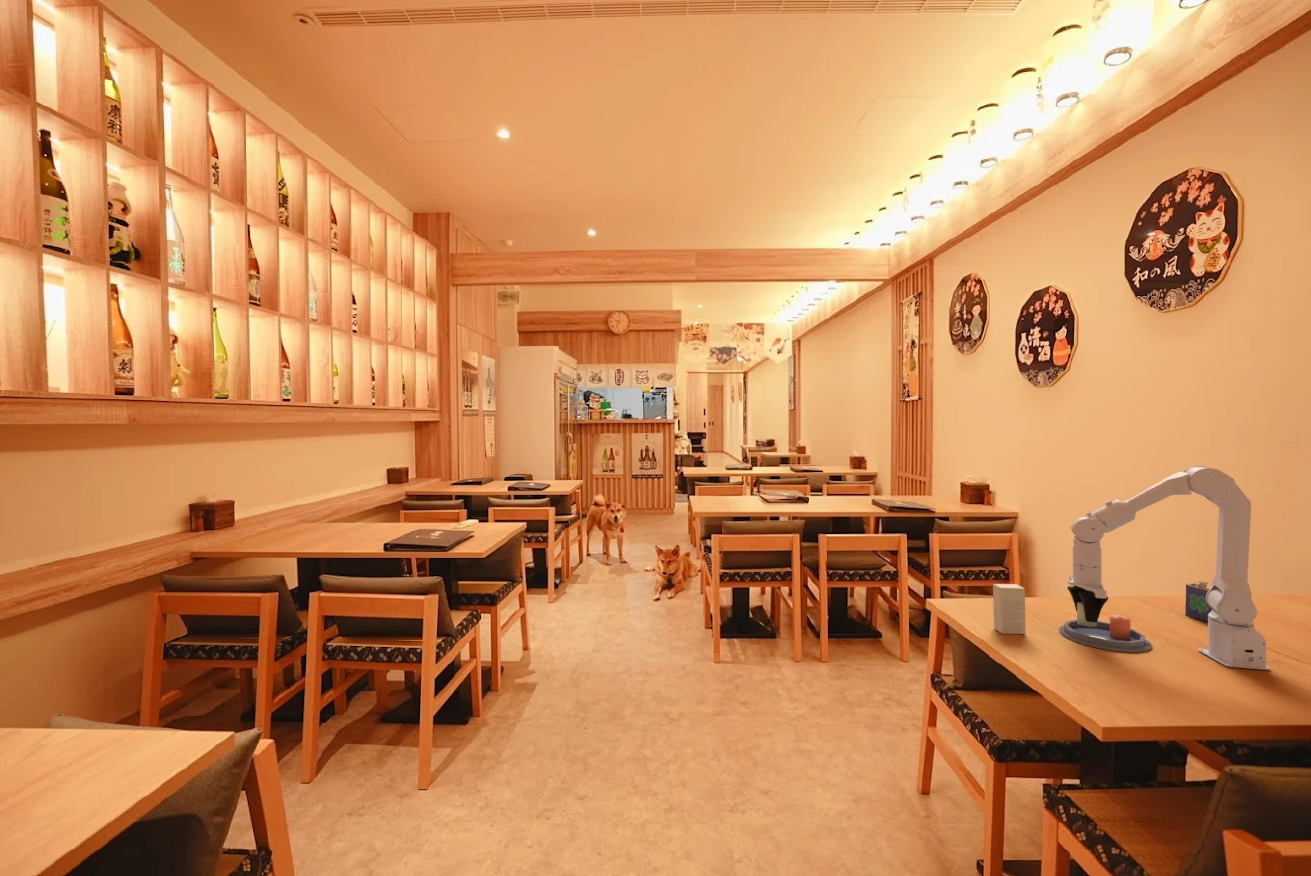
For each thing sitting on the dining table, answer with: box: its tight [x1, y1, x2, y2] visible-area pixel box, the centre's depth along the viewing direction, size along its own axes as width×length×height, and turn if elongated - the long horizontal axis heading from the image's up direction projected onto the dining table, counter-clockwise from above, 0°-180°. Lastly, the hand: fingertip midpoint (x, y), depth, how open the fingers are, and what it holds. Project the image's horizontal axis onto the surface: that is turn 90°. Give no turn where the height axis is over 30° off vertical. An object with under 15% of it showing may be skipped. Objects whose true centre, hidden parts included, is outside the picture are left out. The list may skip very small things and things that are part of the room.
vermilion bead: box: [1109, 614, 1131, 641], centre depth 137 cm, size 4×4×5 cm
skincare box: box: [992, 583, 1027, 635], centre depth 144 cm, size 6×4×12 cm
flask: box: [1184, 580, 1212, 624], centre depth 151 cm, size 9×3×11 cm, turn 2°
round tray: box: [1058, 619, 1153, 654], centre depth 138 cm, size 18×18×2 cm
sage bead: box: [1076, 602, 1097, 627], centre depth 139 cm, size 4×4×5 cm
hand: (1087, 618), depth 139 cm, fingers closed on sage bead, 4 cm apart
